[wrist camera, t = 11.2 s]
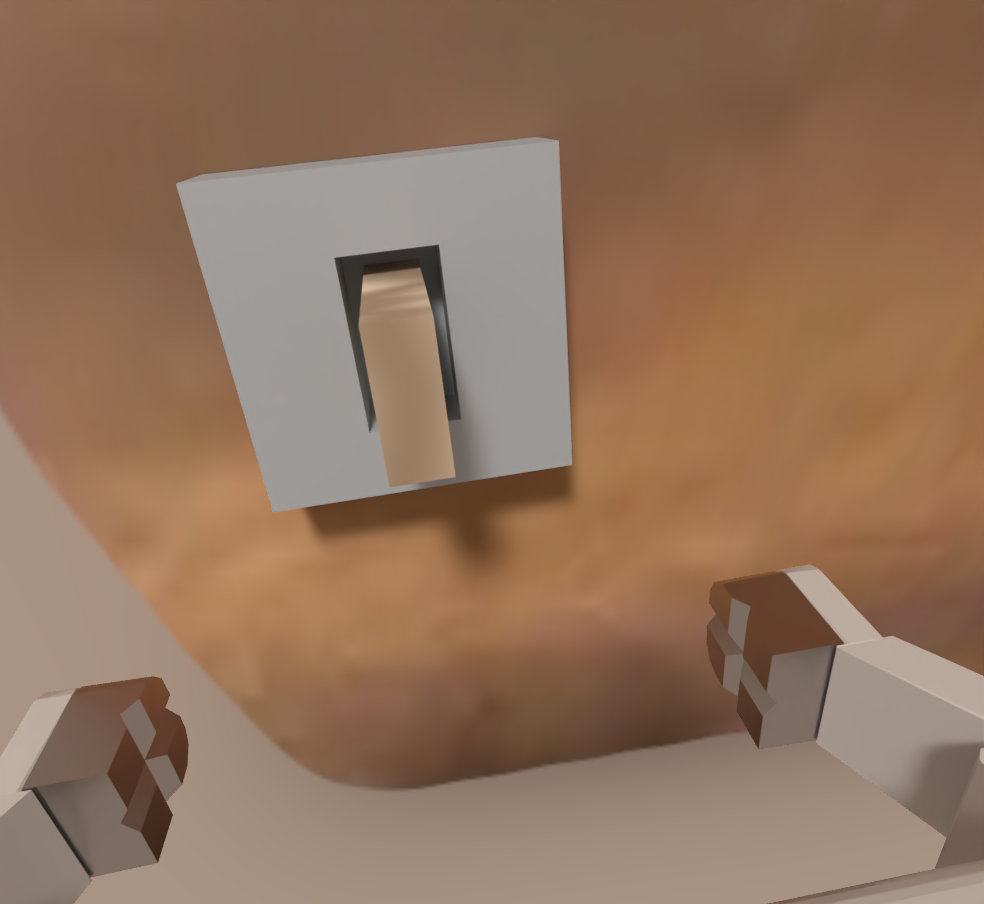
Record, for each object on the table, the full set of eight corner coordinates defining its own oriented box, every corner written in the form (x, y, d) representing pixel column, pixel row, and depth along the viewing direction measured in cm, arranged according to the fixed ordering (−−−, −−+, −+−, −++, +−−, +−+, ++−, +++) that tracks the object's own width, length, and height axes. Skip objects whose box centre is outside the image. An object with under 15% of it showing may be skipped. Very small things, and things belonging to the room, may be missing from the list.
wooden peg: (417, 258, 25) (433, 316, 18) (435, 382, 27) (455, 476, 20) (364, 265, 25) (358, 325, 18) (386, 389, 27) (390, 487, 20)
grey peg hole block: (535, 137, 24) (558, 140, 21) (552, 428, 30) (572, 464, 27) (202, 174, 23) (175, 183, 20) (284, 469, 29) (273, 512, 26)
